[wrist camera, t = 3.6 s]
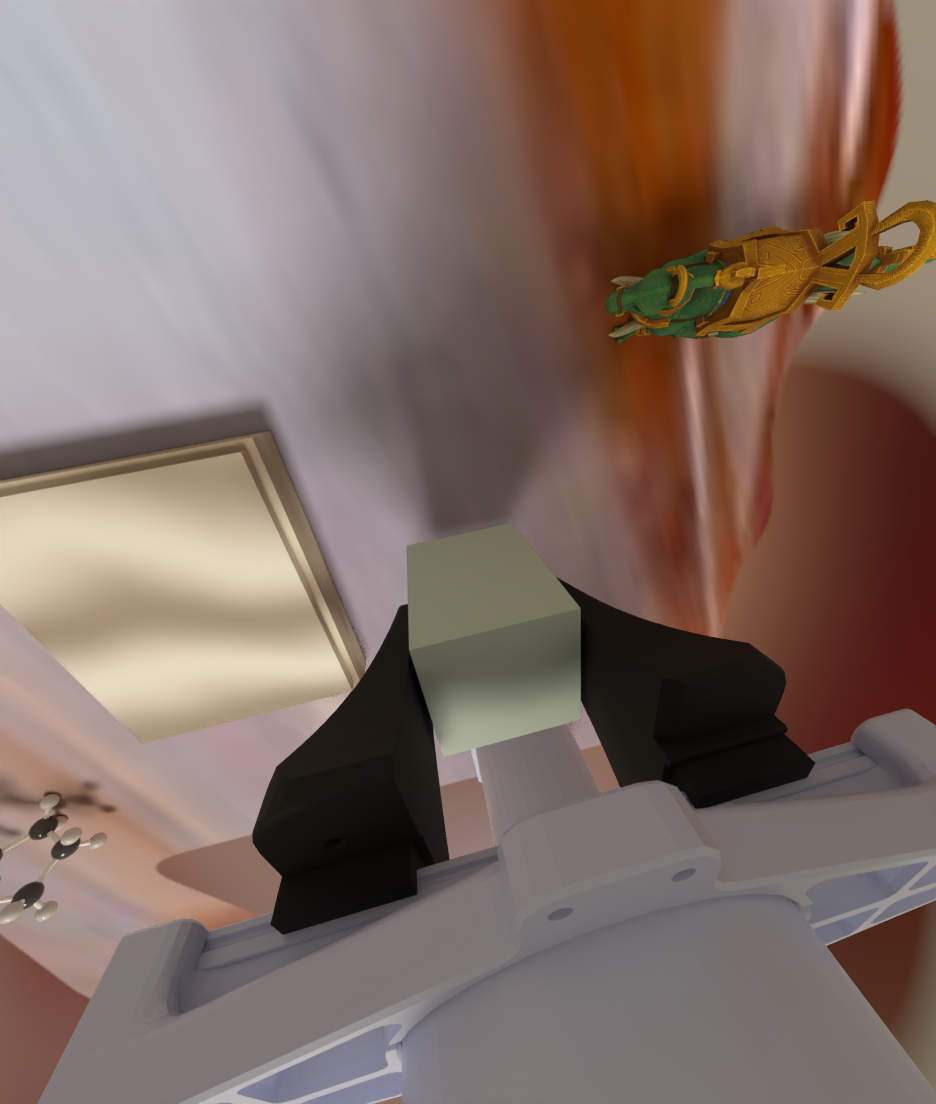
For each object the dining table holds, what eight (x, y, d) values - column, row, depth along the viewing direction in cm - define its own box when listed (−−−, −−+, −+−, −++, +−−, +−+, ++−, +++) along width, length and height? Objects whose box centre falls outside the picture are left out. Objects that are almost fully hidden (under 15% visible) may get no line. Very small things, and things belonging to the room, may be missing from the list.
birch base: (366, 661, 21) (361, 694, 19) (167, 709, 20) (138, 749, 18) (270, 430, 15) (246, 439, 12) (-32, 485, 14) (-115, 506, 11)
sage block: (521, 607, 16) (580, 719, 11) (429, 629, 16) (443, 756, 10) (512, 522, 14) (580, 608, 9) (406, 545, 13) (409, 650, 8)
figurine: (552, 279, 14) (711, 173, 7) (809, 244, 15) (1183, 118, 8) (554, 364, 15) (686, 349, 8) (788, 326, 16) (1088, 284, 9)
